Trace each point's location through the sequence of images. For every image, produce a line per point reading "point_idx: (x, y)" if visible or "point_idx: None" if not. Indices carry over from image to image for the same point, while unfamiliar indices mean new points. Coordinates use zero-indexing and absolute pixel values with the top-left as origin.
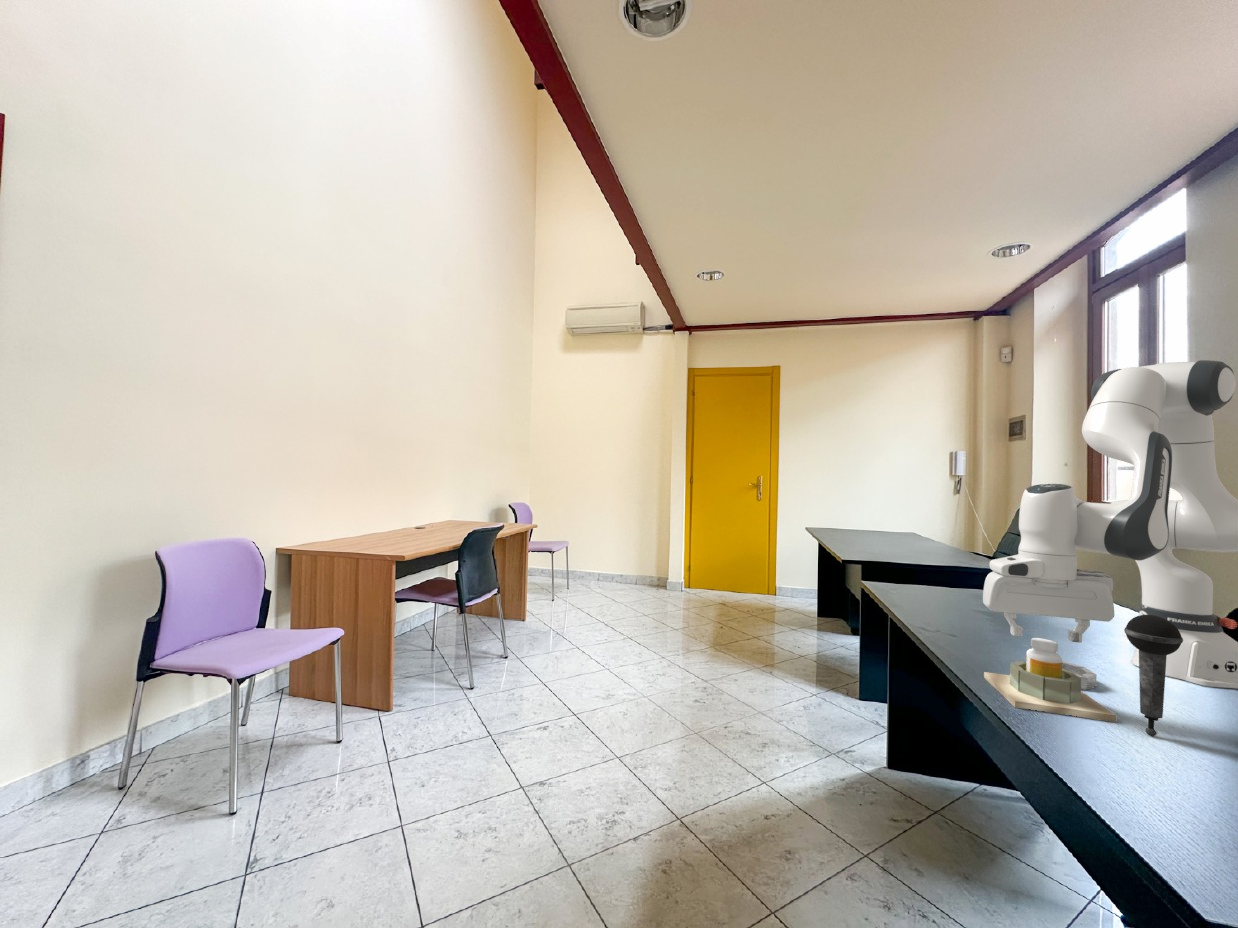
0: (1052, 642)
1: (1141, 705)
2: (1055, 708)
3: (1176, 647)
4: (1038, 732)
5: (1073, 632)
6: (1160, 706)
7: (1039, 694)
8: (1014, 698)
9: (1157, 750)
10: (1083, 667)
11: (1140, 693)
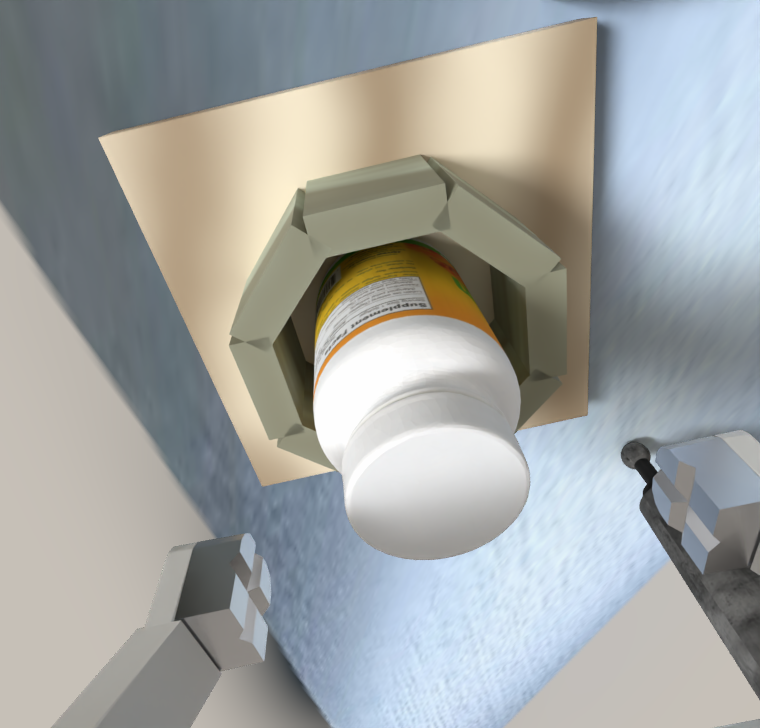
0: (494, 501)
1: (654, 528)
2: None
3: None
4: (313, 589)
5: (723, 555)
6: None
7: None
8: (260, 464)
9: (581, 530)
10: None
11: (680, 562)
